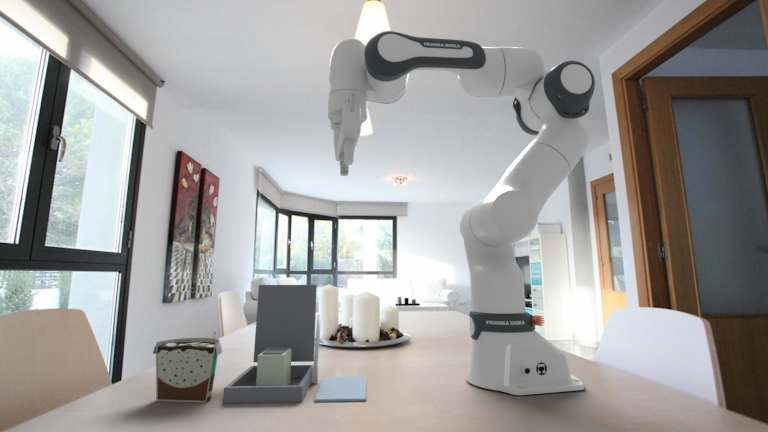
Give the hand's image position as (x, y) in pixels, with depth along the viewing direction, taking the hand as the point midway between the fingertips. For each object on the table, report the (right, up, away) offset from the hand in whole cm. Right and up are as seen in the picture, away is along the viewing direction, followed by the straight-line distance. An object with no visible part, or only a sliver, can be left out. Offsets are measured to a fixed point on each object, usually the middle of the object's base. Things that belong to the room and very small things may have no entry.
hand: (346, 169), depth 84 cm
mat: (0, -44, -10) cm, 45 cm away
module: (-13, -44, -9) cm, 47 cm away
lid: (-14, -34, +1) cm, 37 cm away
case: (-13, -44, -9) cm, 47 cm away
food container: (-27, -44, -14) cm, 53 cm away
